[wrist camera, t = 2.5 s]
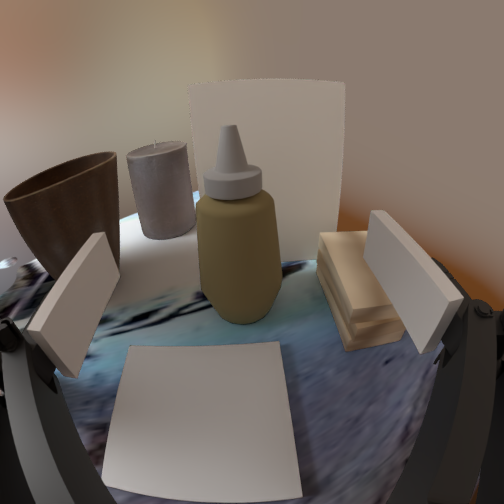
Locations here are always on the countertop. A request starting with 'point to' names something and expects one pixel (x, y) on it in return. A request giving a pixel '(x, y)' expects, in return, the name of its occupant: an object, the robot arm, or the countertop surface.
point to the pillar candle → (162, 189)
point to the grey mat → (203, 425)
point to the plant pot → (68, 209)
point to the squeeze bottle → (237, 236)
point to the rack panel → (280, 148)
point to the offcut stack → (355, 292)
